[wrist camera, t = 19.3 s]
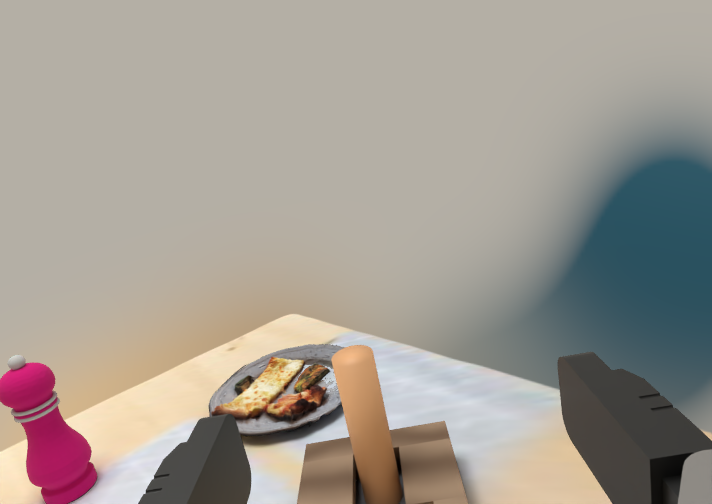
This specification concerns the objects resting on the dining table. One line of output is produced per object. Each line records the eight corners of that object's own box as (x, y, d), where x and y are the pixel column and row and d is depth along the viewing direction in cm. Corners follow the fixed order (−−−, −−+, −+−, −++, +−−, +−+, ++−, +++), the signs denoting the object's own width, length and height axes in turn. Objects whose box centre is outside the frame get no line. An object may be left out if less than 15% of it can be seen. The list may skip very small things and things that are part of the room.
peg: (379, 469, 55) (348, 330, 50) (438, 495, 50) (410, 342, 45) (333, 519, 50) (293, 368, 45) (394, 554, 44) (356, 387, 40)
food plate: (312, 456, 60) (305, 432, 59) (180, 436, 70) (173, 415, 70) (385, 358, 81) (381, 339, 80) (275, 354, 92) (271, 337, 91)
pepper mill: (111, 476, 64) (57, 344, 59) (57, 517, 59) (-8, 375, 53) (84, 463, 68) (32, 339, 63) (31, 500, 63) (-32, 367, 57)
